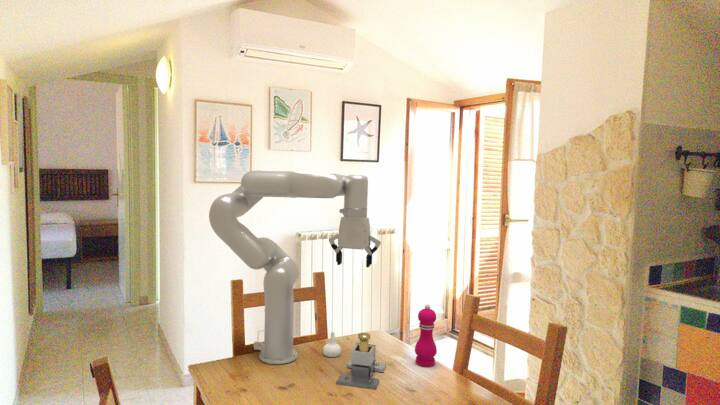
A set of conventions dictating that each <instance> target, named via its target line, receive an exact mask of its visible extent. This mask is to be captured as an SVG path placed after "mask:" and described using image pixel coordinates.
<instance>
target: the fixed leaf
mask: <svg viewBox="0 0 720 405" xmlns="http://www.w3.org/2000/svg"><path fill="white" fill-rule="evenodd" d="M373 369H374V361H373V363H372V365H371V366H363V365H356V364H352V368H351V371H350V372H351V373H350V374H344V373H340V374H339V376H338V377H337V380H336V385H342V386H348V387H356V388H364V389H371V390H377V388H378V386H379V384H380V378H375V377H373V374H374V371H373Z"/></svg>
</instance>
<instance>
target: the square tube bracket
mask: <svg viewBox="0 0 720 405" xmlns="http://www.w3.org/2000/svg"><path fill="white" fill-rule="evenodd" d="M376 348H377V346H376V344H370V343H368V352H363V351H359V342H356V343H355V345H354V346H353V347H352V349H351V350H350V359H349V360H348V362H347V363H346V368H348V369H352V364H356V365H364V366H371V365H372V363H373V361H374V369H373V372H379V373H384V371H385V369H386V368H387V363H386V362H381V361H376Z"/></svg>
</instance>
